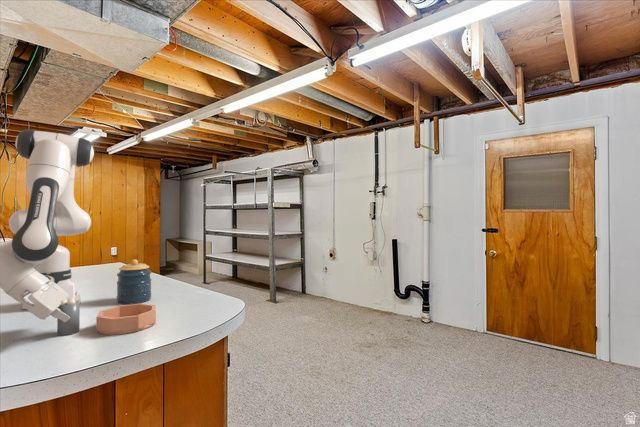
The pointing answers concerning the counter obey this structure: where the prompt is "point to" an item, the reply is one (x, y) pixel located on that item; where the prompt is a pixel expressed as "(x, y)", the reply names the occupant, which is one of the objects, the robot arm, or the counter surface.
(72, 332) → the pebble cup
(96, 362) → the counter surface
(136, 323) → the terracotta bowl
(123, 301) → the canister
